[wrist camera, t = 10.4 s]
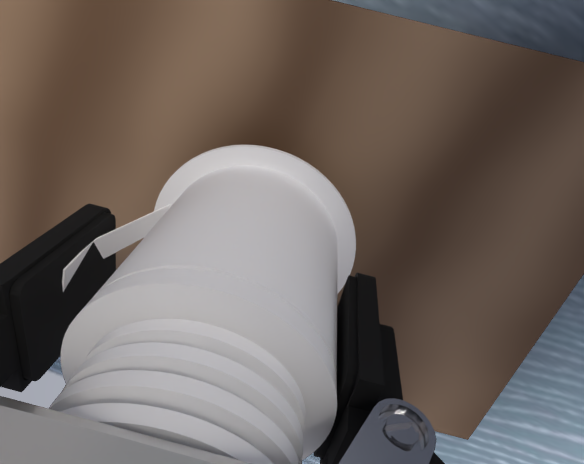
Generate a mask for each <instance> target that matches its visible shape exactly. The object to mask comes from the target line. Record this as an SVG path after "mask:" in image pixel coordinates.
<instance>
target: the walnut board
mask: <svg viewBox="0 0 584 464" xmlns="http://www.w3.org/2000/svg"><path fill="white" fill-rule="evenodd" d="M231 145H258V146H265V147H270V148H274V149H278V150H281V151H284V152H287V153H289V154H291V155H294V156H296V157H298V158H300V159H302V160H303V161H305V162H307V163H309V164H310V165H311V166H313V167H314V168H316V169H317V170H318V171H319V172H321V173H322V174H323V175H324V176H325V177H326V178H327V179H328V180H329V181H330V182H331V183H332V184H333V185H334V187H335V188H336V189H337V190H338V192H339V193H340V195H341V196H342V198H343V199H344V201H345V203H346V205H347V207H348V209H349V211H350V214H351V217H352V220H353V224H354V228H355V236H356V252H355V259H354V264H353V267H352V270H351V273H350V276H354V277H355V275H356V273H357V272H358V273H362V274H365V275H369V276H373V277H375V278H376V286H377V298H378V310H379V322H380V324H383V325H387V326H391V327H392V328H393V329H394V333H395V341H396V349H397V356H398V364H399V372H400V380H401V387H402V395H403V401H406V402H408V403H410V404H412V405H414V406H415V407H416V408H418V409H419V410H420V411H421V412H423V414H424V415H425V416H426V417H427V418H428V420H429V421H430V423H431V425H432V427H433V429H434V431H437V432H440V433H444V434H448V435H452V436H456V437H460V438H463V439H467V440H468V439H469V437H470V436H471V435H472V433H473V432H474V430H475V429H476V427H477V426H478V425H479V423H480V422H481V420H482V419H483V417H484V416H485V415H486V413H487V412H488V410H489V409H490V407H491V406H492V405H493V403H494V402H495V400H496V399H497V397H498V396H499V395H500V393H501V392H502V390H503V389H504V387H505V386H506V385H507V383H508V382H509V380H510V379H511V377H512V376H513V375H514V373H515V372H516V370H517V369H518V367H519V366H520V364H521V363H522V362H523V360H524V359H525V357H526V356H527V354H528V353H529V352H530V350H531V349H532V347H533V346H534V344H535V343H536V342H537V340H538V339H539V337H540V336H541V334H542V333H543V332H544V330H545V329H546V327H547V326H548V324H549V323H550V322H551V320H552V319H553V317H554V316H555V314H556V313H557V312H558V310H559V309H560V307H561V306H562V304H563V303H564V302H565V300H566V299H567V297H568V296H569V294H570V293H571V292H572V290H573V289H574V287H575V286H576V284H577V283H578V281H579V280H580V279H581V277H582V276H583V274H584V62H581V61H577V60H573V59H569V58H565V57H560V56H556V55H552V54H548V53H544V52H540V51H536V50H532V49H528V48H524V47H520V46H516V45H512V44H508V43H503V42H499V41H495V40H491V39H487V38H483V37H479V36H475V35H471V34H467V33H463V32H459V31H455V30H450V29H446V28H442V27H438V26H434V25H430V24H426V23H422V22H418V21H414V20H410V19H406V18H402V17H397V16H393V15H389V14H385V13H381V12H377V11H373V10H369V9H365V8H361V7H357V6H353V5H349V4H344V3H340V2H336V1H332V0H0V263H2V262H3V261H5V260H6V259H8V258H9V257H11V256H12V255H13V254H15V253H16V252H18V251H19V250H21V249H22V248H24V247H25V246H27V245H28V244H29V243H31V242H32V241H34V240H35V239H37V238H38V237H40V236H41V235H43V234H44V233H46V232H47V231H48V230H50V229H51V228H53V227H54V226H56V225H57V224H59V223H60V222H62V221H63V220H64V219H66V218H67V217H69V216H70V215H72V214H73V213H75V212H76V211H78V210H79V209H80V208H82V207H83V206H85V205H86V204H94V205H98V206H102V207H105V208H108V209H110V211H111V214H113V215H115V219H116V229H117V228H119V227H121V226H123V225H126V224H128V223H130V222H132V221H134V220H136V219H139V218H141V217H143V216H145V215H147V214H149V213H152V212H154V208H155V205H156V201H157V199H158V196H159V194H160V192H161V190H162V189H163V187H164V185H165V184H166V182H167V181H168V180H169V178H170V177H171V176H172V175H173V174H174V173H175V172H176V171H177V170H178V169H179V168H180V167H181V166H183V165H184V164H185V163H186V162H188V161H189V160H191V159H192V158H194V157H196V156H198V155H200V154H202V153H204V152H207V151H209V150H212V149H216V148H220V147H224V146H231ZM142 240H143V238H142V239H140V240H138V241H136V242H135V243H133V244H131V245H129V246H127V247H125V248H123V249H121V250H119V251H118V252H116V270H117V269H118V267H119V266H120V265H121V264H122V263H123V262H124V260H125V259H126V258H127V257H128V256H129V255H130V254H131V252H132V251H133V250H134V249H135V248H136V247H137V245H138V244H139V243H140V242H141V241H142ZM344 286H345V285H344ZM344 286H343V288H342V289H341V290H340V292H339V293H338V294H337V306H338V303H339V301H340V298H341V295H342V292H343V289H344Z"/></svg>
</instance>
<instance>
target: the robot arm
mask: <svg viewBox="0 0 584 464" xmlns="http://www.w3.org/2000/svg"><path fill="white" fill-rule="evenodd" d="M115 229H116V219H115V215H113V214H111V211H110V209H108V208H105V207H102V206H98V205H94V204H86V205H85V206H83V207H82V208H80V209H79V210H78V211H76V212H75V213H73V214H72V215H70V216H69V217H67V218H66V219H64V220H63V221H62V222H60V223H59V224H57V225H56V226H54V227H53V228H51V229H50V230H48V231H47V232H46V233H44V234H43V235H41V236H40V237H38V238H37V239H35V240H34V241H32V242H31V243H29V244H28V245H27V246H25V247H24V248H22V249H21V250H19V251H18V252H16V253H15V254H13V255H12V256H11V257H9V258H8V259H6V260H5V261H3V262H2V263H0V387H1V386H2V387H4V388H8V389H12V390H15V391H19V392H22V391H23V390H24V389H25V388H26V387H27V386H28V384H30V382H31V381H37V380H39V379H40V378H41V377H42V376H43V374H45V372H46V371H47V370H48V369H49V368H50V367H51V366H52V365H53V363H54V362H55V361H56V360H57V359H58V358H59V357H60V355H61V347H62V342H63V339H64V336H65V333H66V331H67V329H68V327H69V325H70V324H71V322H72V321H73V320H74V318H75V317H76V316H77V315H78V313H79V312H80V311H81V310H82V309H83V308H84V307H85V306H86V304H87V303H88V302H89V301H90V300H91V299H92V298H93V296H94V295H95V294H96V293H97V292H98V291H99V289H100V288H101V287H102V286H103V285H104V284H105V283H106V281H107V280H108V279H109V278H110V277H111V276H112V274H113V273H114V272H115V271H116V253H114V254H112V255H110V256H108V257H106V258H104V259H103V257H102V256H101V254H100V252H99V250H98V249H97V247H96V245H95V243H94V242H93V243H92V245H91V246H90V248H89V250H88V251H87V253H86V255H85V256H84V258H83V260H82V261H81V263H80V265H79V267H78V268H77V270H76V272H75V273H74V275H73V277H72V278H71V280H70V282H69V283H68V285H67V287H66V288H65V290H64V292H63V287H62V276H63V269H64V268H65V267H66V266H67V265H68V264H69V263H70V262H71V261H72V260H73V259H74V258H75V257H76V256H77V255H78V254H79V253H80V252H81V251H82V250H83V249H84V248H85V247H87V246H88V245H89V244H90V243H91V242H92V241H94V240H95V239H96V238H97V237H100V236H102V235H104V234H106V233H108V232H110V231H113V230H115ZM435 445H436V436H435V431H434V429H433V427H432V425H431V423H430V421H429V420H428V418H427V417H426V416H425V415H424V414H423V412H421V411H420V410H419V409H418V408H416V407H415V406H414V405H412V404H410V403H408V402H406V401H403V395H402V387H401V380H400V372H399V364H398V356H397V349H396V341H395V333H394V329H393V328H392V327H391V326H387V325H383V324H380V322H379V310H378V298H377V286H376V278H375V277H373V276H369V275H365V274H362V273H358V272H357V273H356V275H355V277H354V276H350V275H349V276H348V278H347V280H346V283H345V286H344V289H343V292H342V295H341V298H340V301H339V303H338V306H337V411H336V417H335V421H334V424H333V427H332V429H331V431H330V433H329V435H328V436H327V438H326V439H325V441H324V442H323V443H322V444H321V446H320V447H319V448H318V449H317V450H315V451H314V456H316V457H320V464H445V463H444V462H443V461H442V460H441V459H440V458H439V457H438V456H437V455H436V454H435V453H434V450H435ZM0 464H251V463H247V462H244V461H240V460H236V459H233V458H229V457H225V456H222V455H218V454H214V453H211V452H207V451H203V450H200V449H196V448H192V447H189V446H185V445H182V444H178V443H174V442H171V441H167V440H163V439H160V438H156V437H152V436H148V435H145V434H141V433H137V432H133V431H130V430H126V429H122V428H119V427H115V426H111V425H107V424H104V423H100V422H96V421H93V420H89V419H85V418H81V417H78V416H74V415H70V414H66V413H63V412H59V411H55V410H51V409H47V408H44V407H40V406H36V405H32V404H29V403H24V402H21V401H17V400H13V399H9V398H6V397H1V396H0Z"/></svg>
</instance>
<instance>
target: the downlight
mask: <svg viewBox="0 0 584 464" xmlns="http://www.w3.org/2000/svg"><path fill="white" fill-rule="evenodd" d="M142 238H143V240H142V241H141V242H140V243H139V244H138V245H137V247H136V248H135V249H134V250H133V251H132V252H131V254H130V255H129V256H128V257H127V258H126V259H125V260H124V262H123V263H122V264H121V265H120V266H119V267H118V269H117V270H116V271H115V272H114V273H113V274H112V276H111V277H110V278H109V279H108V280H107V281H106V283H105V284H104V285H103V286H102V287H101V288H100V289H99V291H98V292H97V293H96V294H95V295H94V296H93V298H92V299H91V300H90V301H89V302H88V303H87V304H86V306H85V307H84V308H83V309H82V310H81V311H80V312H79V313H78V315H77V316H76V317H75V318H74V320H73V321H72V322H71V324H70V325H69V327H68V329H67V331H66V333H65V336H64V339H63V342H62V347H61V368H62V373H63V377H64V380H65V383H66V385H65V387H64V389H63V390H62V392H61V393H60V395H59V396H58V397H57V398H56V399H55V401H54V402H53V403H52V405H51V406H50V407H49V409H51V410H55V411H59V412H63V413H66V414H70V415H74V416H78V417H81V418H85V419H89V420H93V421H96V422H100V423H104V424H107V425H111V426H115V427H119V428H122V429H126V430H130V431H133V432H137V433H141V434H145V435H148V436H152V437H156V438H160V439H163V440H167V441H171V442H174V443H178V444H182V445H185V446H189V447H192V448H196V449H200V450H203V451H207V452H211V453H214V454H218V455H222V456H225V457H229V458H233V459H236V460H240V461H244V462H247V463H251V464H302V460H303V459H305V458H307V457H308V456H309V455H311V454H312V453H313V452H314V451H315V450H317V449H318V448H319V447H320V446H321V444H322V443H323V442H324V441H325V439H326V438H327V436H328V435H329V433H330V431H331V429H332V427H333V424H334V421H335V417H336V411H337V294H338V293H339V292H340V290H341V289H342V288H343V286H344V285H345V283H346V280H347V278H348V276H349V275H350V273H351V270H352V267H353V264H354V259H355V252H356V236H355V228H354V224H353V220H352V217H351V214H350V211H349V209H348V207H347V205H346V203H345V201H344V199H343V198H342V196H341V195H340V193H339V192H338V190H337V189H336V188H335V187H334V185H333V184H332V183H331V182H330V181H329V180H328V179H327V178H326V177H325V176H324V175H323V174H322V173H321V172H319V171H318V170H317V169H316V168H314V167H313V166H311V165H310V164H309V163H307V162H305V161H303V160H302V159H300V158H298V157H296V156H294V155H291V154H289V153H287V152H284V151H281V150H278V149H274V148H270V147H265V146H258V145H231V146H224V147H220V148H216V149H212V150H209V151H207V152H204V153H202V154H200V155H198V156H196V157H194V158H192V159H191V160H189V161H188V162H186V163H185V164H184V165H183V166H181V167H180V168H179V169H178V170H177V171H176V172H175V173H174V174H173V175H172V176H171V177H170V178H169V180H168V181H167V182H166V184H165V185H164V187H163V189H162V190H161V192H160V194H159V196H158V199H157V201H156V205H155V208H154V212H152V213H149V214H147V215H145V216H143V217H141V218H139V219H136V220H134V221H132V222H130V223H128V224H126V225H123V226H121V227H119V228H117V229H115V230H113V231H110V232H108V233H106V234H104V235H102V236H100V237H97V238H96V239H95V240H94V241H92V242H91V243H90V244H89V245H88V246H87V247H85V248H84V249H83V250H82V251H81V252H80V253H79V254H78V255H77V256H76V257H75V258H74V259H73V260H72V261H71V262H70V263H69V264H68V265H67V266H66V267H65V268H64V269H63V276H62V287H63V292H64V290H65V288H66V287H67V285H68V283H69V282H70V280H71V278H72V277H73V275H74V273H75V272H76V270H77V268H78V267H79V265H80V263H81V261H82V260H83V258H84V256H85V255H86V253H87V251H88V250H89V248H90V246H91V245H92V243H93V242H94V243H95V245H96V247H97V249H98V250H99V252H100V254H101V256H102V257H103V259H104V258H106V257H108V256H110V255H112V254H114V253H116V252H118V251H119V250H121V249H123V248H125V247H127V246H129V245H131V244H133V243H135V242H136V241H138V240H140V239H142Z"/></svg>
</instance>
